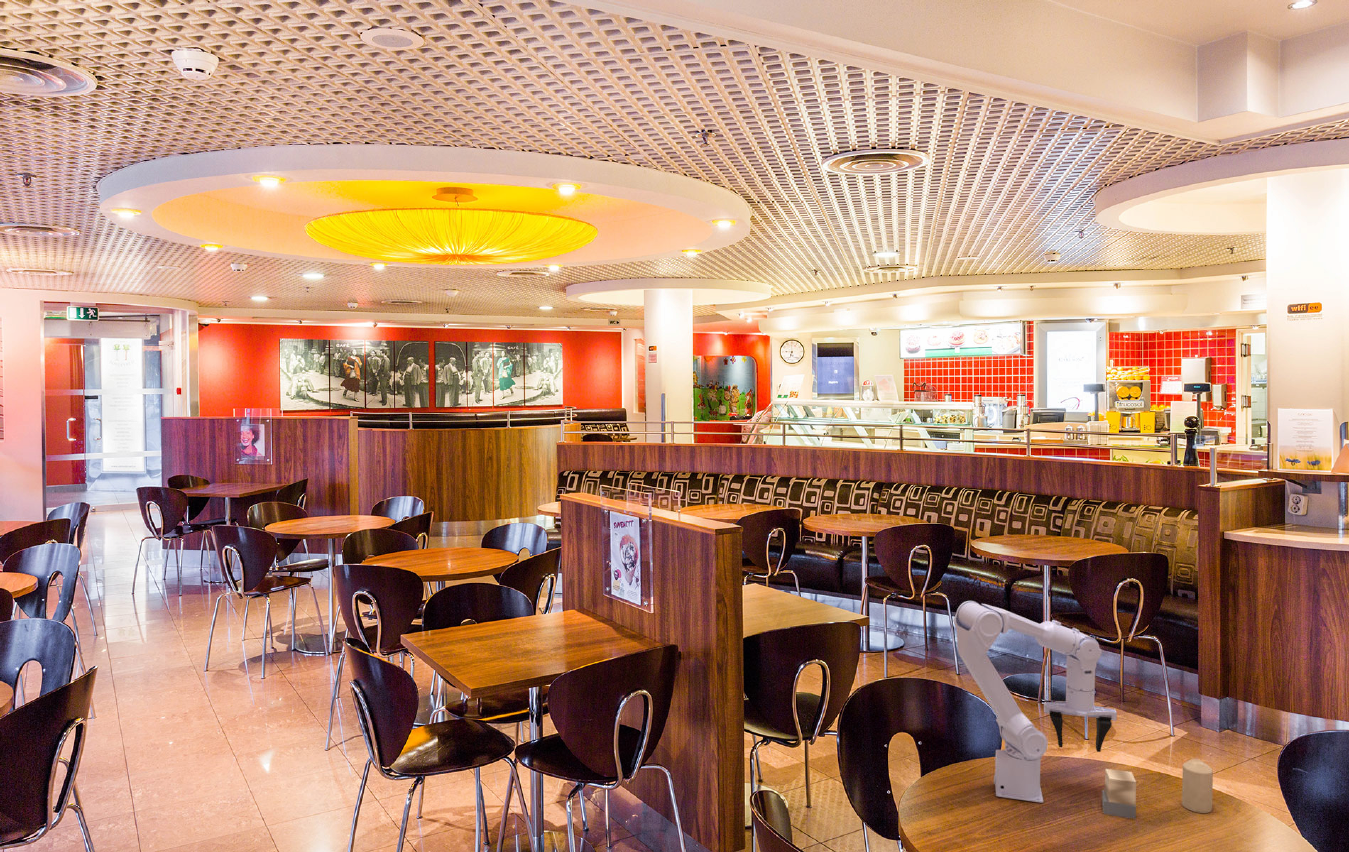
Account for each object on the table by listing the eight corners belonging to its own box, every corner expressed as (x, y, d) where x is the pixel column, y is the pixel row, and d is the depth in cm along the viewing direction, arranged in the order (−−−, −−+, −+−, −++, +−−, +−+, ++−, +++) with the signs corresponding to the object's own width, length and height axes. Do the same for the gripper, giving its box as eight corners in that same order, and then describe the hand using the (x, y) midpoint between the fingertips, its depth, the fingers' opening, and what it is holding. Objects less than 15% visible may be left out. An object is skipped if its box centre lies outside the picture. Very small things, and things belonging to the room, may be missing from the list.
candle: (1216, 814, 182) (1217, 767, 182) (1187, 812, 183) (1188, 765, 183) (1205, 802, 187) (1206, 757, 187) (1177, 800, 188) (1179, 754, 188)
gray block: (1103, 815, 182) (1103, 801, 182) (1101, 803, 188) (1102, 789, 188) (1135, 821, 180) (1135, 806, 180) (1133, 808, 185) (1133, 794, 185)
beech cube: (1108, 802, 182) (1109, 778, 182) (1104, 791, 187) (1105, 768, 186) (1135, 805, 180) (1136, 781, 180) (1130, 794, 185) (1131, 771, 185)
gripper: (1046, 689, 191) (1045, 750, 192) (1119, 696, 187) (1118, 759, 187) (1043, 679, 198) (1042, 738, 198) (1114, 686, 193) (1112, 746, 194)
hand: (1079, 747), depth 193 cm, fingers open, 7 cm apart
